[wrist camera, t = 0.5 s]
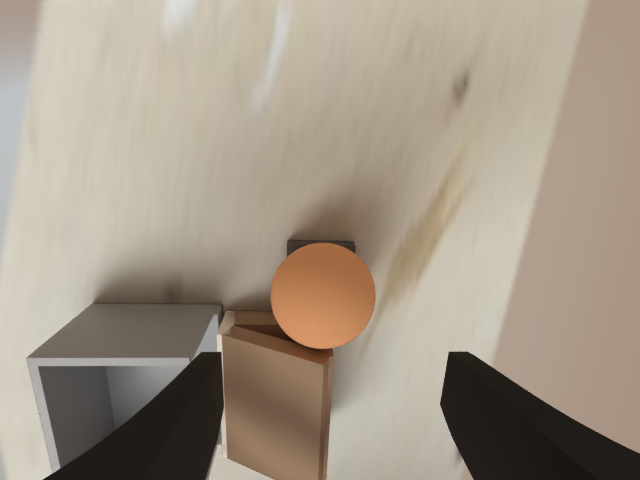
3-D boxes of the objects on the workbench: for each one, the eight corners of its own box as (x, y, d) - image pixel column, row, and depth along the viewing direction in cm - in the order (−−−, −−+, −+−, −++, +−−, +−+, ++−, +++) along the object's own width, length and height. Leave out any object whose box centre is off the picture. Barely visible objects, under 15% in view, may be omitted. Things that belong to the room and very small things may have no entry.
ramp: (320, 422, 23) (326, 498, 18) (230, 423, 22) (212, 501, 18) (326, 311, 21) (334, 365, 16) (226, 310, 20) (203, 365, 15)
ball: (361, 315, 20) (381, 372, 15) (274, 315, 20) (266, 372, 15) (368, 231, 19) (392, 265, 14) (274, 229, 18) (265, 263, 14)
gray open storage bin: (227, 428, 23) (208, 508, 18) (112, 430, 22) (61, 512, 17) (222, 304, 20) (198, 357, 15) (92, 303, 20) (25, 358, 15)
